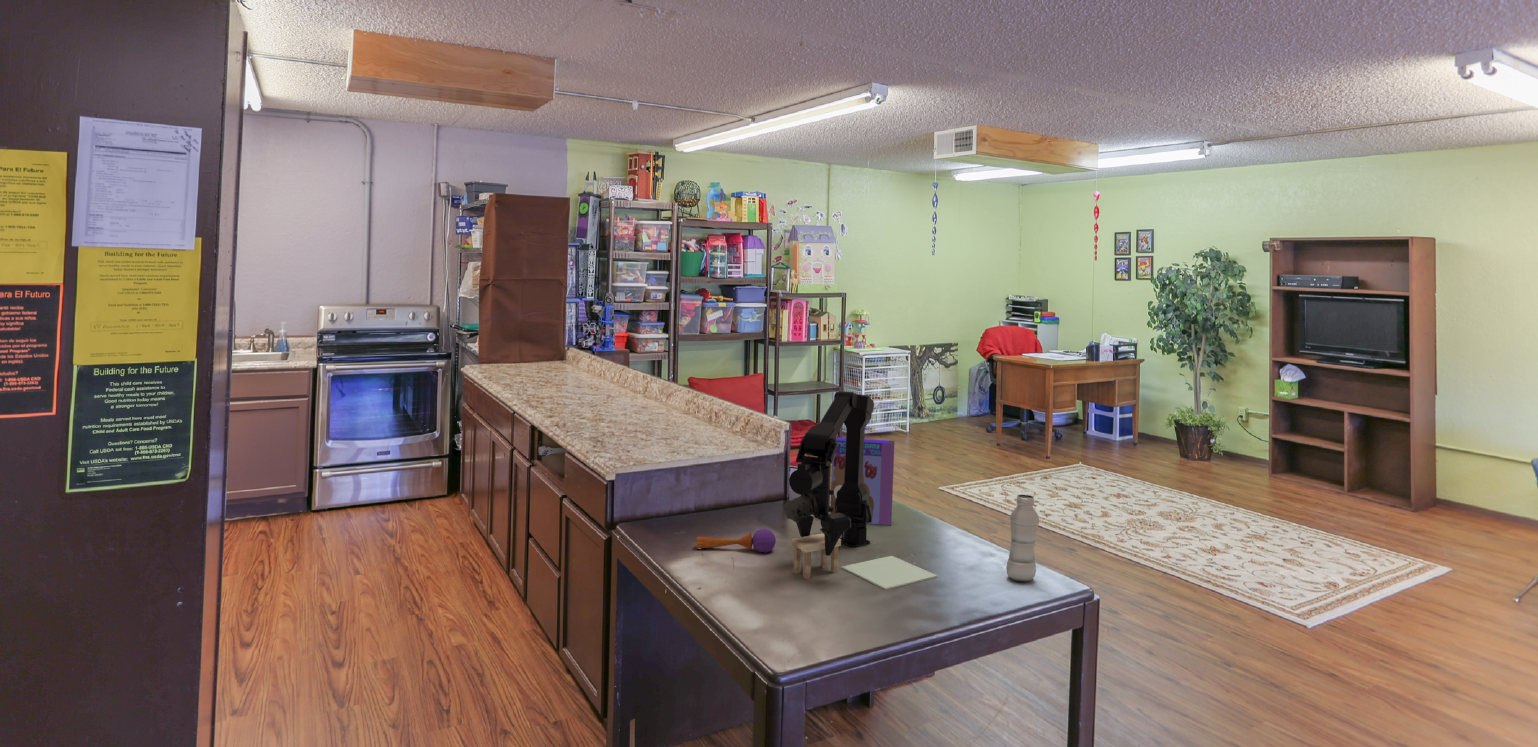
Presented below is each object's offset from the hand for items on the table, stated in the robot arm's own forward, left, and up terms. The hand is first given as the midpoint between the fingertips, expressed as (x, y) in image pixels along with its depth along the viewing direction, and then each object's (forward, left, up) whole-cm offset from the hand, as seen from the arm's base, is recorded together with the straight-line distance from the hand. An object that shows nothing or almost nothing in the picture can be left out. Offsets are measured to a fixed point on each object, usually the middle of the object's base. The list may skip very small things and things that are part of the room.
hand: (816, 549), depth 190 cm
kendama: (-23, -8, -6) cm, 25 cm away
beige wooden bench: (0, 0, -5) cm, 5 cm away
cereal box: (-27, +36, -6) cm, 45 cm away
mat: (+9, +15, -5) cm, 18 cm away
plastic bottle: (+28, +39, -6) cm, 48 cm away
